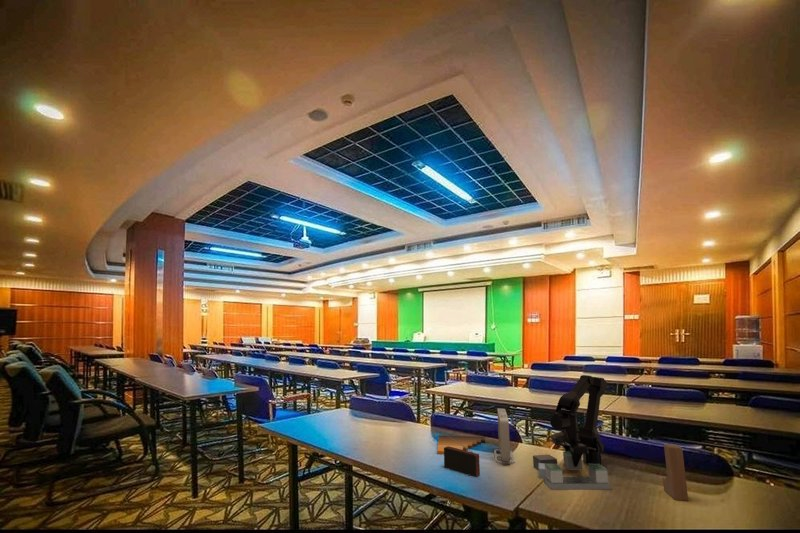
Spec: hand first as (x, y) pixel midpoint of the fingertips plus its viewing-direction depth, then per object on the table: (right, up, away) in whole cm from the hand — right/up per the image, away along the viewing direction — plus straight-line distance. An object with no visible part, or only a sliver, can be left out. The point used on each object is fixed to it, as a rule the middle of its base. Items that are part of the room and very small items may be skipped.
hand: (572, 464), depth 164 cm
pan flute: (-43, -9, +33) cm, 54 cm away
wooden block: (+27, +1, -24) cm, 36 cm away
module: (0, -1, 0) cm, 1 cm away
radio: (-49, -3, +1) cm, 49 cm away
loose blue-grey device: (-14, -2, -5) cm, 15 cm away
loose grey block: (-11, -3, +3) cm, 12 cm away
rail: (-5, 0, -15) cm, 16 cm away
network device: (-25, -6, +18) cm, 31 cm away
